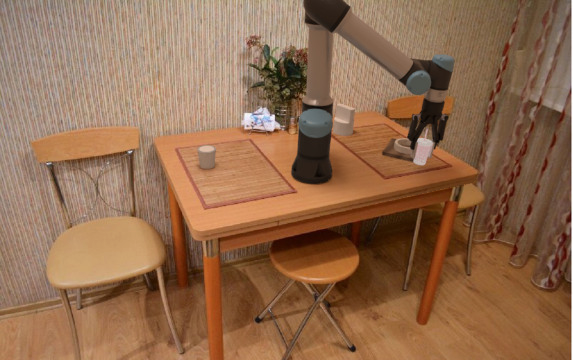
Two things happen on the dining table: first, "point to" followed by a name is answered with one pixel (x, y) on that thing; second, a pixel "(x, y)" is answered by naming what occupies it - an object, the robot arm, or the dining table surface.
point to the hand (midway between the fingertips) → (420, 156)
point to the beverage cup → (422, 150)
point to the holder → (396, 152)
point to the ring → (401, 148)
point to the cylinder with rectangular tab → (344, 120)
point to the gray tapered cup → (206, 156)
